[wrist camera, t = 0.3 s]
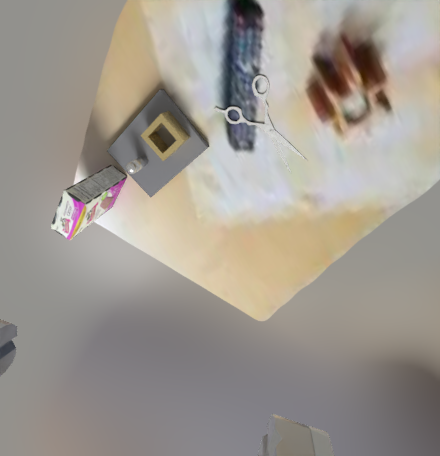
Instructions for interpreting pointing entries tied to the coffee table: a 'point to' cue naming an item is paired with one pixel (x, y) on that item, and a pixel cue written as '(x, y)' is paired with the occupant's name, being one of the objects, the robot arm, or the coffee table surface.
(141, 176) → the slate mat
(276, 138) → the scissors
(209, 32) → the coffee table surface
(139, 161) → the steel post
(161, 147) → the brass collar
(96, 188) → the candy bar box
